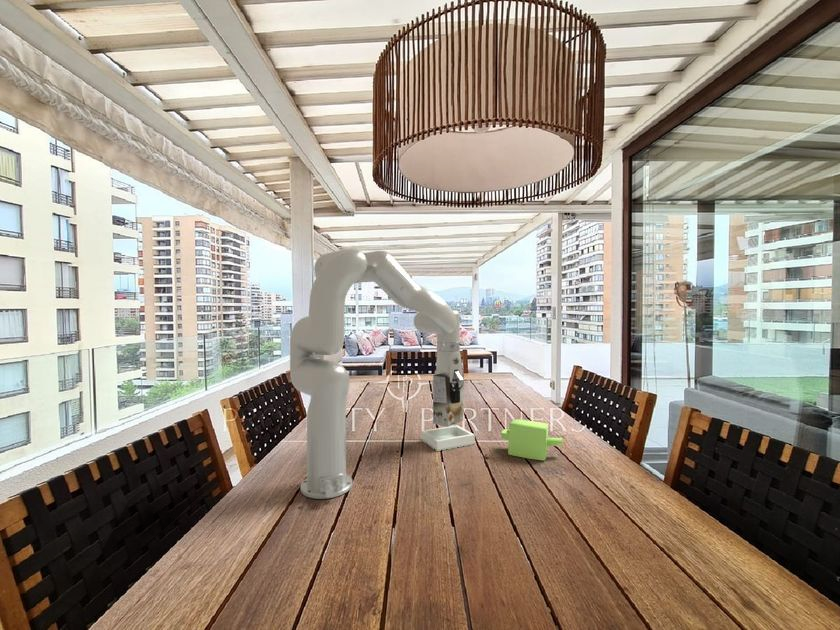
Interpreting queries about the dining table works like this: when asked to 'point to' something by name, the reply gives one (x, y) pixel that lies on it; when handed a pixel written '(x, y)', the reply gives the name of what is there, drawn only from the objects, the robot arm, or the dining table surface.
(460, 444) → the locating tray
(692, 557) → the dining table surface
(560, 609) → the dining table surface
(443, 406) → the coffee box
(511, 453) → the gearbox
